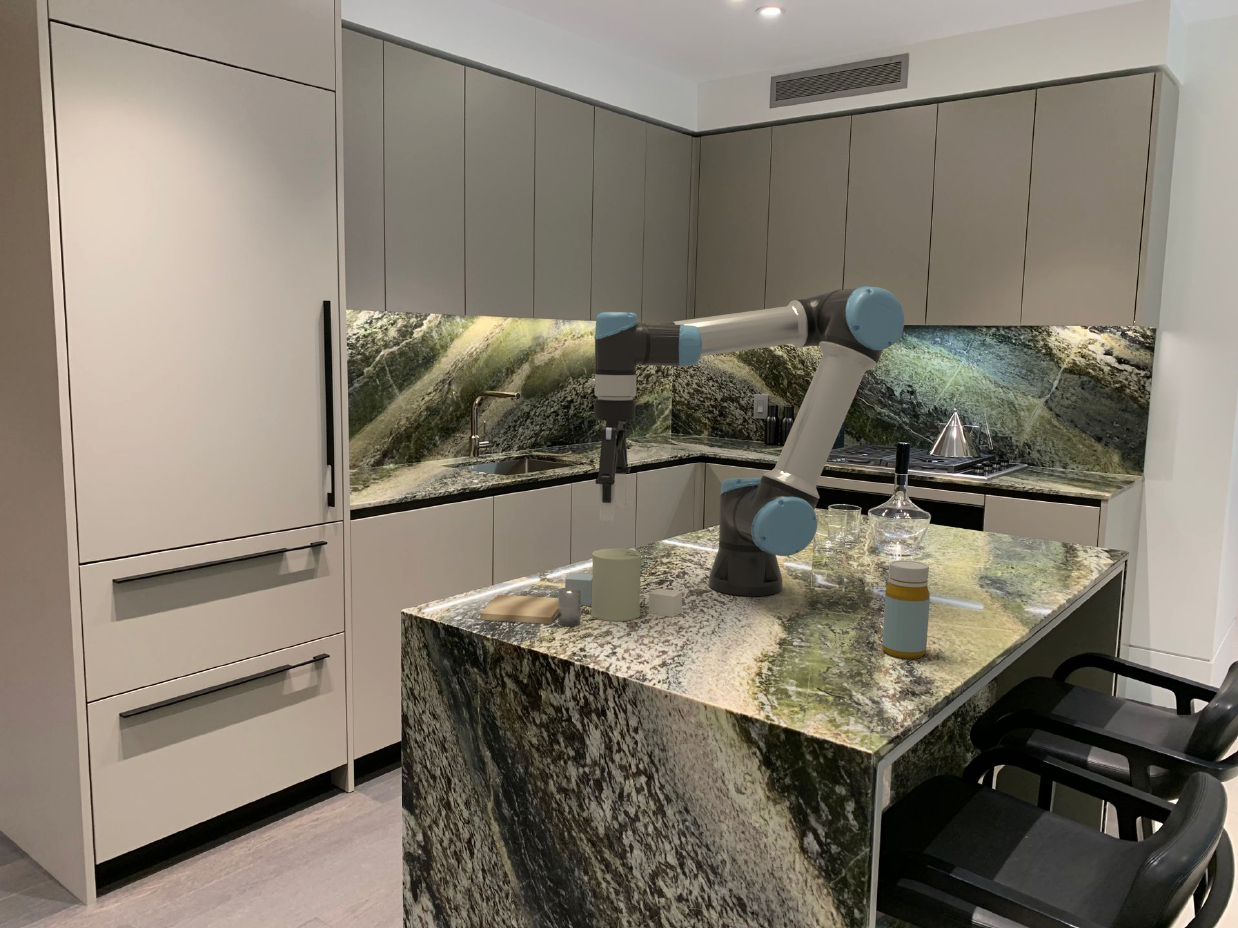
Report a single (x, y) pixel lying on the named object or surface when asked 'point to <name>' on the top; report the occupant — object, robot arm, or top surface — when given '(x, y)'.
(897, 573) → the bottle
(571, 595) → the tin
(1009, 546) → the top surface
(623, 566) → the can
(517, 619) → the board
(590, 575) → the block gray
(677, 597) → the block white
